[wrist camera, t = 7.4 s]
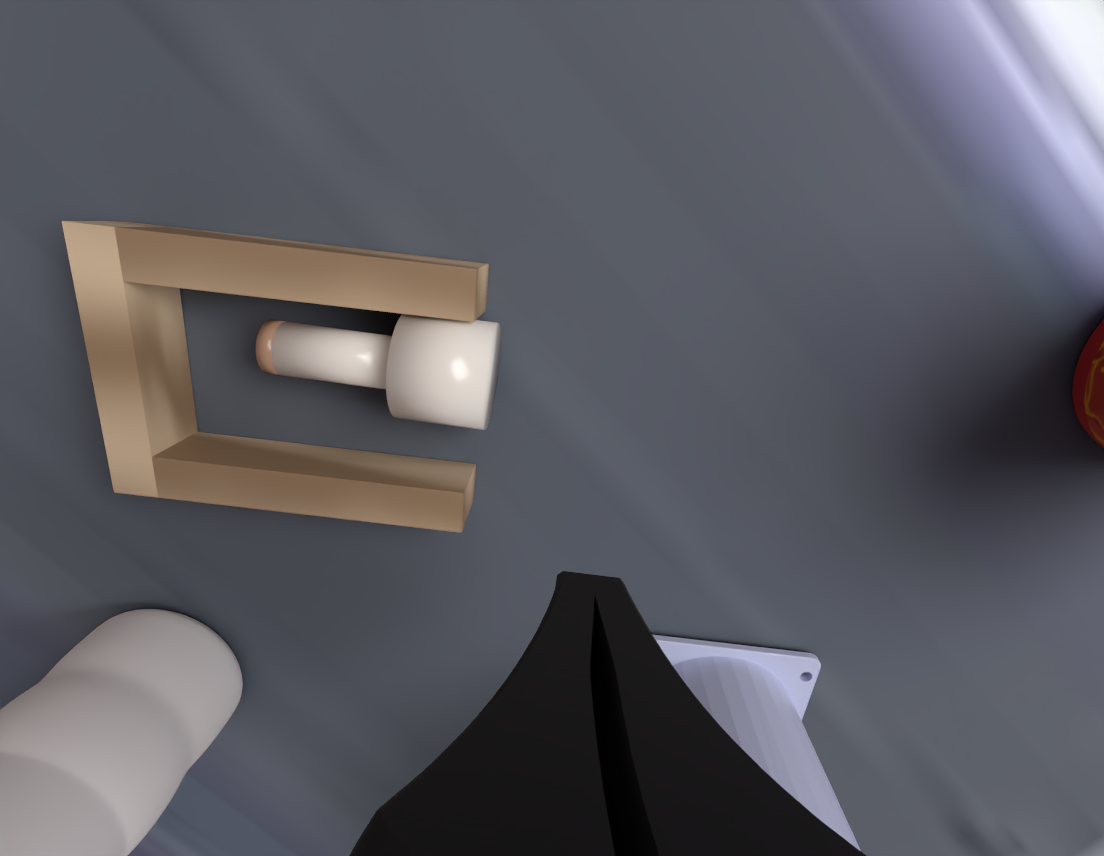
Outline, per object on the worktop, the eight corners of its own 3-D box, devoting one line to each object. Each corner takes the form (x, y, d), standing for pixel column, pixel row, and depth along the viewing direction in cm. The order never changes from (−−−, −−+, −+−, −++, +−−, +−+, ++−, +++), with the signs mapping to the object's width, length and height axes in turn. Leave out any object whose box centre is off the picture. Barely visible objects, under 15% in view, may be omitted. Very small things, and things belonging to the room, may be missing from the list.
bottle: (478, 413, 16) (226, 378, 16) (487, 440, 20) (280, 412, 20) (497, 303, 17) (258, 270, 17) (502, 348, 21) (305, 321, 21)
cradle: (473, 499, 22) (461, 532, 20) (163, 463, 22) (114, 492, 20) (489, 263, 19) (476, 269, 16) (125, 221, 19) (61, 221, 16)
